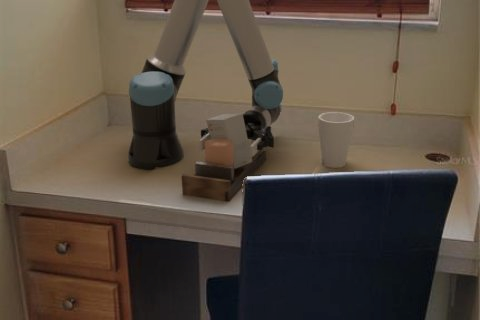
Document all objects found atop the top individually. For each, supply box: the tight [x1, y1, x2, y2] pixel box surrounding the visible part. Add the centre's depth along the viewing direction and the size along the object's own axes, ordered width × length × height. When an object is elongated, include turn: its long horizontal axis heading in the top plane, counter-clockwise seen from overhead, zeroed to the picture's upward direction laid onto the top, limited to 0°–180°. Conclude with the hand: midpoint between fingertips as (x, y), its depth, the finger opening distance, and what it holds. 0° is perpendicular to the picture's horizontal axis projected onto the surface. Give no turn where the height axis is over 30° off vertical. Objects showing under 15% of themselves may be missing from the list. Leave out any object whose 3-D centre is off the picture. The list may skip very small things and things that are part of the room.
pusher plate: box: [194, 161, 234, 185], centre depth 148 cm, size 9×2×6 cm, turn 70°
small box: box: [206, 113, 253, 169], centre depth 158 cm, size 8×6×13 cm
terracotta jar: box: [204, 138, 235, 180], centre depth 152 cm, size 7×7×10 cm
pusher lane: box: [181, 149, 267, 203], centre depth 156 cm, size 12×28×6 cm, turn 160°
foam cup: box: [317, 111, 355, 169], centre depth 163 cm, size 10×9×13 cm
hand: (225, 148), depth 153 cm, fingers open, 13 cm apart
